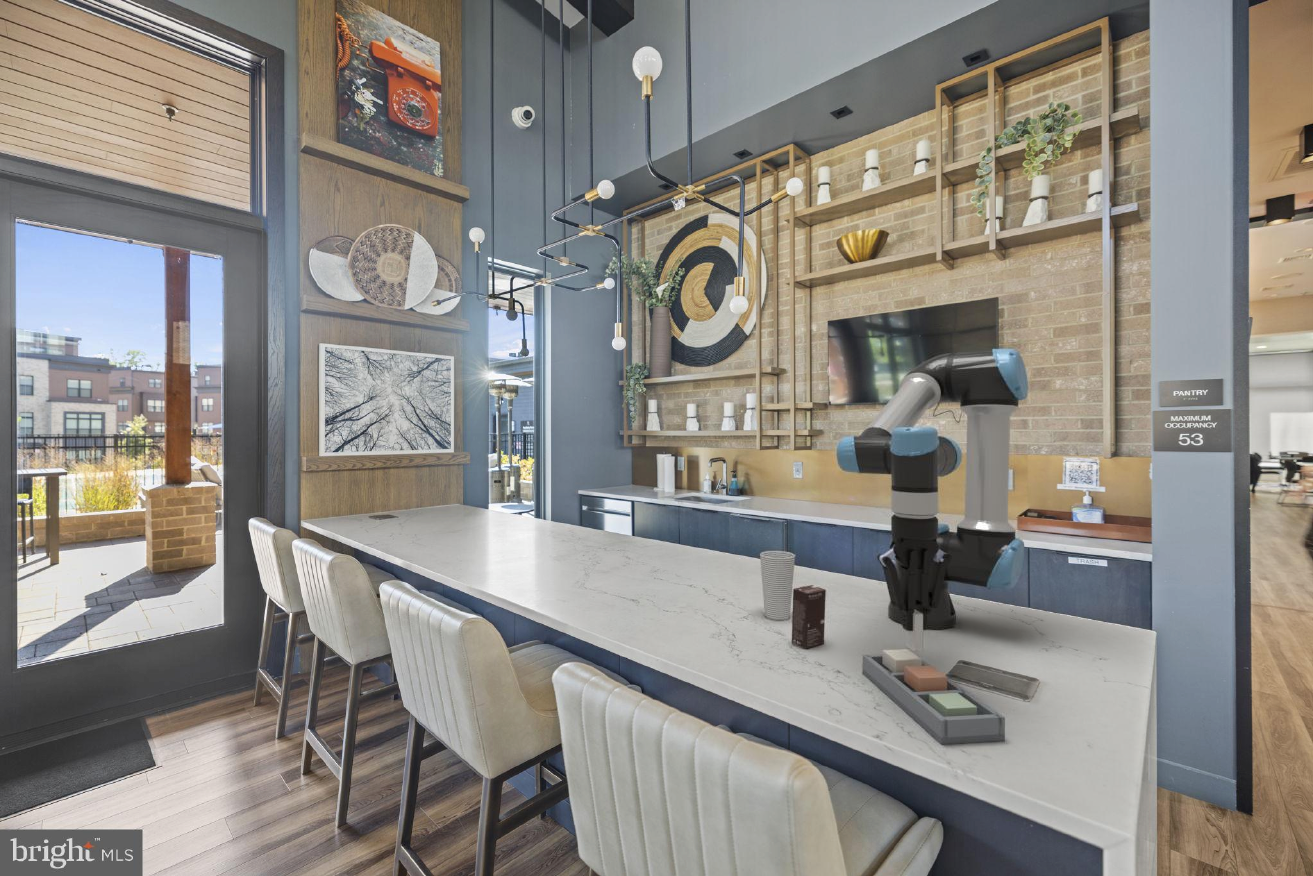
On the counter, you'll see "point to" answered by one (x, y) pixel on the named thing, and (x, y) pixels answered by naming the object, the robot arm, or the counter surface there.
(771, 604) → the cup
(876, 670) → the gray divided tray
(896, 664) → the key ivory
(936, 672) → the key terracotta
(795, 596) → the box
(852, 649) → the counter surface
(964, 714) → the key sage
